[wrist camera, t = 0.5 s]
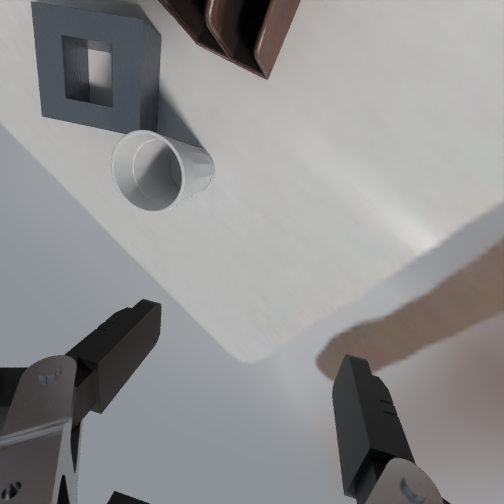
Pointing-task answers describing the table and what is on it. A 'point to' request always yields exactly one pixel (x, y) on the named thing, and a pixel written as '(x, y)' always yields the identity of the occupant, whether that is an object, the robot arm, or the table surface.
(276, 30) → the letter holder
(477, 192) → the table surface
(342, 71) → the table surface
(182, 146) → the cup
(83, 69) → the grey hollow block
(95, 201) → the table surface
